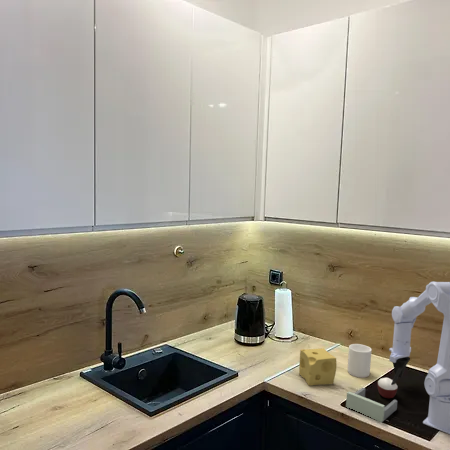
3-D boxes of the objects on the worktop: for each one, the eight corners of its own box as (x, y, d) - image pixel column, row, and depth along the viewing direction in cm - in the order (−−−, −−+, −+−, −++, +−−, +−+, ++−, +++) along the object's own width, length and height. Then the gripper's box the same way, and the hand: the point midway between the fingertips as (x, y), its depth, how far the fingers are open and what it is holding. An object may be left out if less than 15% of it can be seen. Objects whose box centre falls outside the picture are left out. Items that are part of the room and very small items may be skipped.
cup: (352, 378, 162) (354, 352, 161) (340, 364, 174) (341, 340, 173) (373, 377, 163) (375, 351, 162) (359, 364, 175) (361, 340, 174)
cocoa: (373, 391, 153) (373, 358, 152) (390, 390, 153) (390, 357, 153) (385, 403, 143) (386, 368, 143) (403, 403, 144) (404, 368, 143)
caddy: (396, 409, 140) (397, 394, 139) (381, 422, 132) (382, 406, 131) (362, 395, 148) (363, 382, 148) (345, 407, 140) (346, 392, 139)
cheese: (308, 386, 154) (310, 359, 153) (297, 373, 164) (299, 348, 163) (335, 384, 156) (337, 358, 155) (322, 371, 166) (324, 346, 165)
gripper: (398, 332, 162) (396, 366, 163) (382, 341, 151) (379, 378, 152) (418, 337, 157) (415, 373, 158) (402, 347, 146) (399, 385, 148)
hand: (398, 376), depth 155 cm, fingers closed
